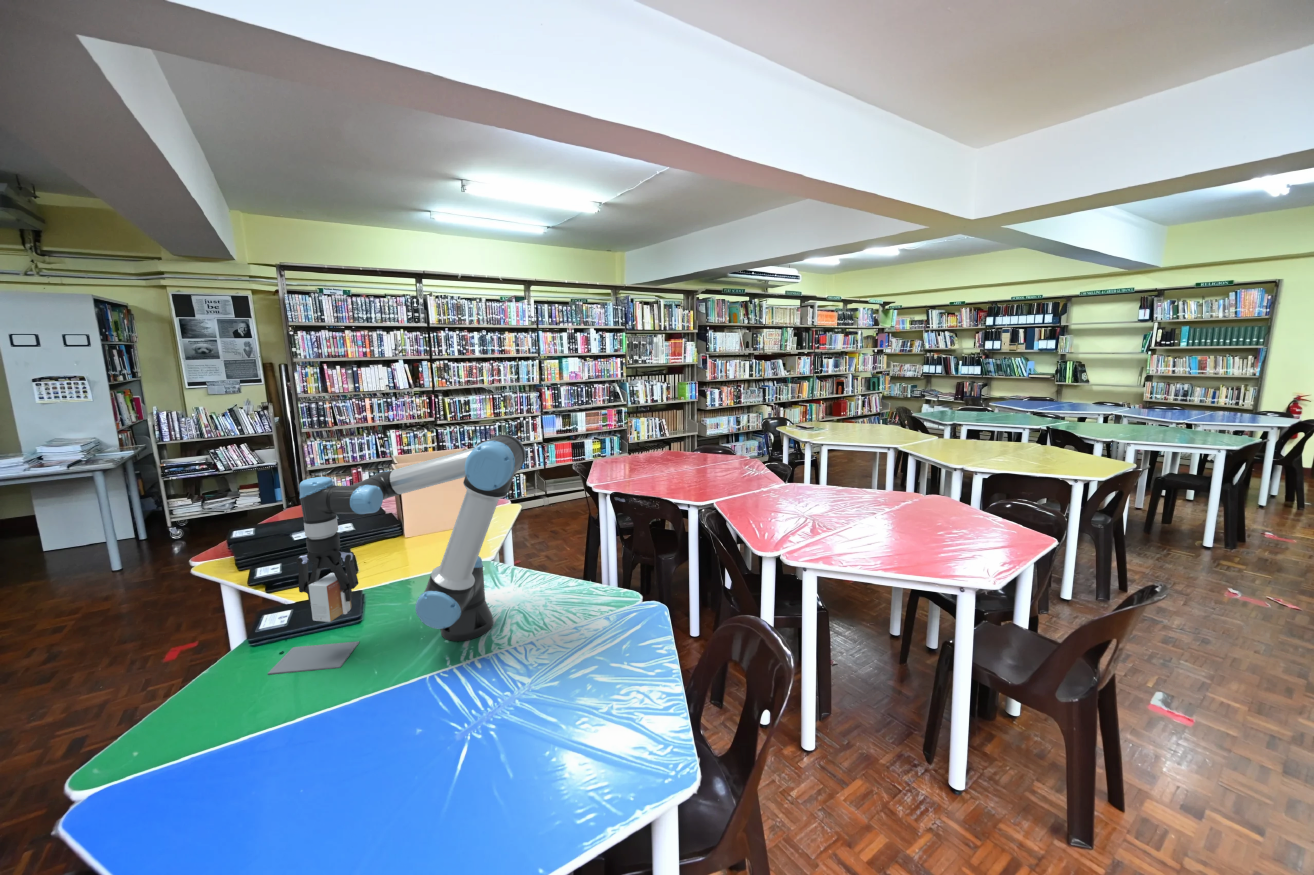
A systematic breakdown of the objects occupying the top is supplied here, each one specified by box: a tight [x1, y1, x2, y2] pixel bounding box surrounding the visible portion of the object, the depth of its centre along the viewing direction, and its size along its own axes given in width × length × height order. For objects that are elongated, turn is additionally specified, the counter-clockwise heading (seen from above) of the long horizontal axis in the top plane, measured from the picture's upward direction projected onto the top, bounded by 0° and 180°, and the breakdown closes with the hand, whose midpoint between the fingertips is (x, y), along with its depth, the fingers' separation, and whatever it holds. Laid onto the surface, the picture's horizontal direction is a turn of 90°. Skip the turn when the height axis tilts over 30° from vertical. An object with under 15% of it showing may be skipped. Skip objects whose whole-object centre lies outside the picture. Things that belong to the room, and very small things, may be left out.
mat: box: [267, 640, 360, 676], centre depth 141 cm, size 18×12×1 cm, turn 98°
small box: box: [309, 572, 352, 623], centre depth 138 cm, size 8×6×10 cm
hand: (332, 612), depth 139 cm, fingers closed on small box, 7 cm apart
